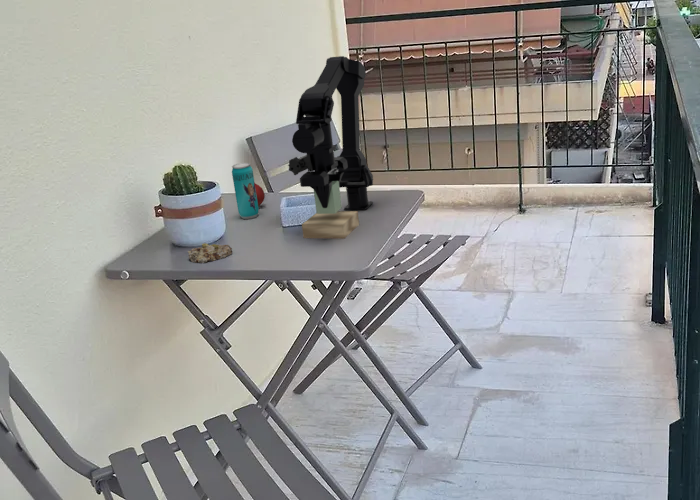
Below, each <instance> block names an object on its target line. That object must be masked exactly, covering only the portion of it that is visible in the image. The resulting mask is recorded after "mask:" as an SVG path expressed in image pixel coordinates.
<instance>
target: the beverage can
mask: <svg viewBox="0 0 700 500" xmlns="http://www.w3.org/2000/svg"><path fill="white" fill-rule="evenodd" d="M231 167H232V170H231V173H232V174H231V175H232V181H233V188H234V193H235V194H234V195H235V199H236V206H237V212H238V214H239V216H240V219H242V220H243V219H244V220H250V219H255V218H256V217H258V215H259V210H260V209H259V207H258V201H257V195H256V188H255V184H256V182H255V177H254V176H255V175H254V170H253V167H252V166H251V163H250V162H240V163H236V164H233V165H232V166H231Z"/></svg>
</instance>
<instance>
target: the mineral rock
mask: <svg viewBox="0 0 700 500" xmlns="http://www.w3.org/2000/svg"><path fill="white" fill-rule="evenodd" d="M187 253H188V258H189V260H190V261H191V262H192V263H197V264H198V263H199V264H205V263H209V262H214V261H218V260H222V259H225V258H227V257H228V256H231V254H233V248H232V247H231V246H230V245H229V244H215V243H213V244H210V245H209V243H206V242H205V243H202V244H201V247H197V248H196V247H194V248H192V249H191V250H187Z"/></svg>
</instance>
